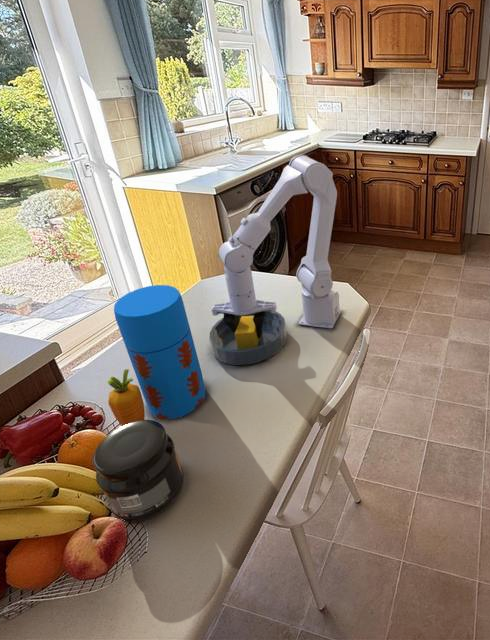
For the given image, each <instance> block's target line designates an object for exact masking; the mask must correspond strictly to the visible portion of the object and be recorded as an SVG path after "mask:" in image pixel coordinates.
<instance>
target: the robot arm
mask: <svg viewBox="0 0 490 640" xmlns="http://www.w3.org/2000/svg"><path fill="white" fill-rule="evenodd" d="M333 175H334V172H333V171H331V169H329V168H328V166H326V164H324V163H322V162H319V161H317V160H315V159H313V158H311V157H309V156H308V155H306V154H297V155H294V156H293V157H292V158H291V159H290V161H289V163H288V164H287V165H286V166H284V167H283V170H282V172H281V174H280V177H279V179H278V180H277V182H276V183H275V185H274V186H273V188H272V189H271V191H270V192H269V194H268V195H267V197H266V199H265V200H264V202H263V203H262V205H261V206H260V208H259V209H258V211H256V212H253V213H249V214H248V215H247V217H246V218H245V217H243V218H242V219H241V220H240V223H241V225H239V227H238V229H236V231H235V233H234V234H233V235H232V236H229V238H228V239H227V241H225V242H223V243H222V244H221V245H220V247H219V249H218V253H217V257H218V258H219V260H220V261H222V264H223V270H224V277H225V283H226V288H227V293H228V297H229V301H228V302H223V303H222V302H221V303H215V304H213V305H212V307H211V313H212V316H219V315H223V317H224V318H223V317H222V318H223V322H224V323H225V324H226V325H227V326H229V327H230V329H231V330H232V331H233V333H234V334H235V331H236V329H237V326H238V324H239V315H248V314H252V313H255V314H254V317H253V321H254V324H255V327H256V333H257V337H258V338H261V335H262V325H263V320H264V317H265V314H266V312H271V313H276V312H277V309H278V308H277V302H276V301H265V300H260V299H257V297H256V290H255V285H254V279H253V273H252V270H251V269H252V268H251V266H252V265H253V262H254V254H255V252H256V250H257V249H258V247H259V246H260V245H261V243H262V242H263V241H264V240H265V238H266V237H267V236H268V234H269V233H270V231H271V229H272V227H271V221H273V219H274V218H275V217H276V215H277V214H278V213H279V212H280V211H281V209H283V207H284V206H286V204H287V202H289V201H290V199H291V198H292V197H293V196H298V195H303V194H308V193H310V194H311V195H312V196H313V201H312V210H311V218H310V225H309V233H308V238H307V239H308V240H307V248H306V254H305V256H303V257H302V258H301V259H300V260H301V261H300V264H299V266H298V268H297V270H296V272H295V276H296V279H297V281H298V282H300V284H301V290H300V292H301V300H302V301H301V302H302V312H303V315H302V316H301V318H300V320H299V322H298V325H299V326H308V327H316V328H324V329H333V328H334V326H335V324H336V322H337V320H338V319H339V316H340V314H341V310H340V295H339V292H338V291H335V290H332V288H333V285H334V281H333V279H332V273H333V272H332V269H331V265H330V263H329V260H328V258H329V251H330V245H331V240H332V239H331V238H332V231H333V225H334V219H335V213H336V206H337V199H338V191H337V188H336V184H335V181H334V179H333V178H334V177H333Z"/></svg>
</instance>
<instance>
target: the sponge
mask: <svg viewBox="0 0 490 640" xmlns="http://www.w3.org/2000/svg"><path fill="white" fill-rule="evenodd" d="M253 317H254V316H242V317H241V319H240V322H239V324H238V326H237V329H236V331H235V338H236V343H237V348H238V350H244V349H250V348H255V347H257V345H258V342H259V339H260V338H258V337H257V333H256V327H255V324H254V321H253Z"/></svg>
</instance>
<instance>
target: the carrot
mask: <svg viewBox="0 0 490 640" xmlns="http://www.w3.org/2000/svg"><path fill="white" fill-rule="evenodd" d="M129 371H130V369H129V368H126V369H124V370H123V375H122V381H120V379H118V378H117V377H115V376H113V375H112V376H110V377H109V379H108V381H107V384H108V385H109V386H110V387H111V388H113V389H112V390H111V391H110V392H109V394H108V400H107V403H108V406H109V409H110V411H111V412H112V414H113V417H114V418H115V420H116V421H117V422H118V423H119V425H120V426H124V425H126V424H128V423H131V422H134V421H139V420H146V419H145V418H146V415H145V403H144V399H143V396H142V395H143V394H142V391H141V388H140V386H139V385H136V384H133V383H131V382H132V381H134V378H132V377H131V378H128V375H129Z"/></svg>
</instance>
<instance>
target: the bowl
mask: <svg viewBox="0 0 490 640" xmlns="http://www.w3.org/2000/svg"><path fill="white" fill-rule="evenodd" d="M254 314H255V313H252V314H248V315H239V322H240V319H241V317H242V316H254ZM223 318H224V316H223V317H221V318H220V319H219V320H218V321H217V322H216V323H215V324H214V325H213V326H212V327H211V329H210V331H209V343H210V348H211V352H212V353H213V355H214V358H216V359H217V360H219V361H220V362H222V363H225V364H227V365H235V366H245V365H246V366H247V365H252V364H256V363H259V362H262V361H264V360H267V359H269V358H271V357H272V356H274V355H276V354H277V353H278V352H279V351H280V350H281V349H282V348H283V346H284V345H285V343H286V341H287V337H288V335H287V334H288V333H287V326H286V321H285V318H284V316H283V315H282V314H281V313H279V311H276V313H271V312H266V314H265V317H264V320H263V325H262V335H261V338H260V339H259V342H258V345H257V347H255V348H250V349H244V350H238V348H237V343H236V338H235V334H234V333H233V331H232V330H231V329H230V327H229V326H227V325H226V324H225V323H224V322H223Z"/></svg>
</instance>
